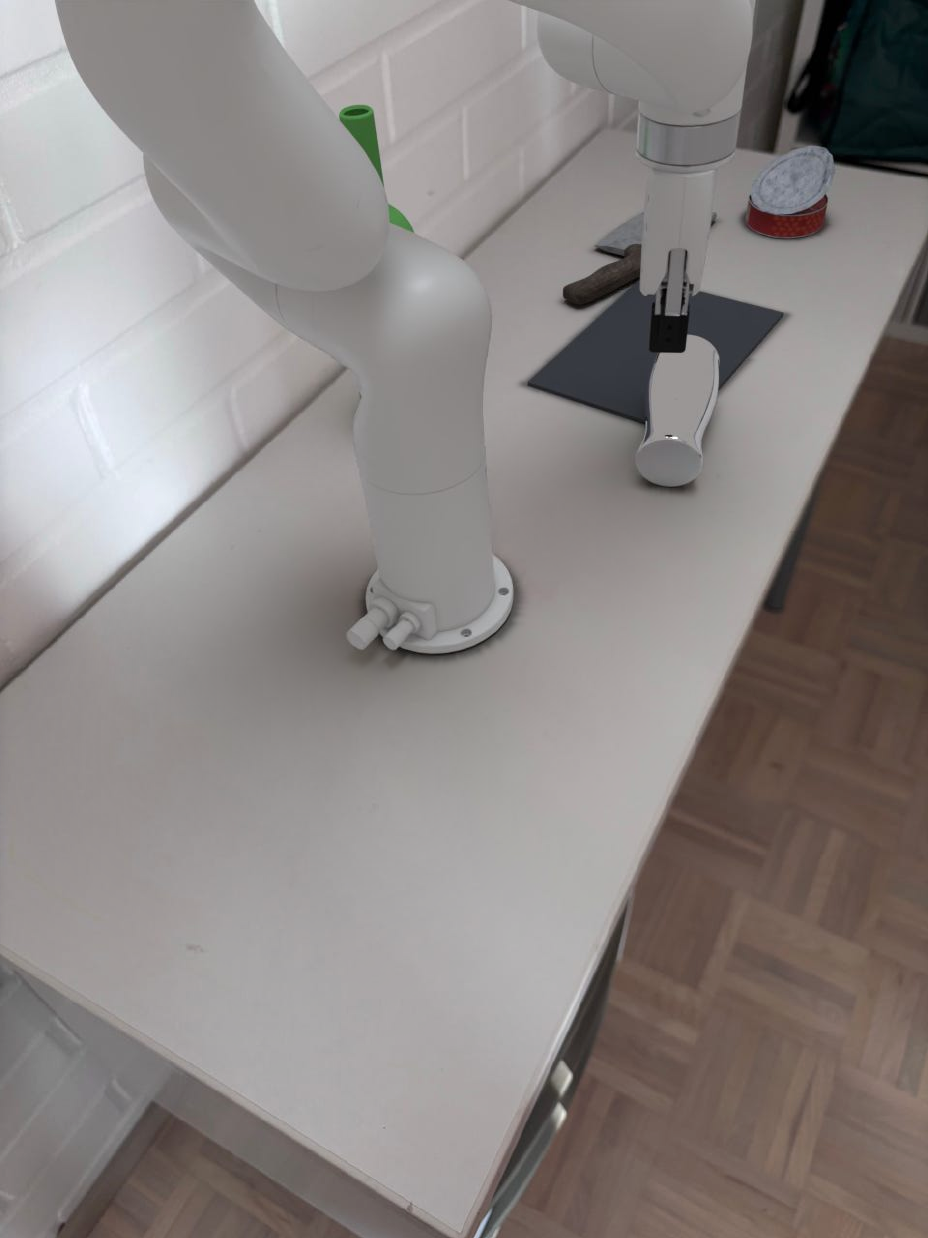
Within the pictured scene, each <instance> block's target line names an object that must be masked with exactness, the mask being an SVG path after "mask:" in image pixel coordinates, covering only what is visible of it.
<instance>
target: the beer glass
mask: <svg viewBox="0 0 928 1238" xmlns="http://www.w3.org/2000/svg"><path fill="white" fill-rule="evenodd" d="M719 364H720V360H719V355H718V352H717V350H716V349H715V347H714V346H713V345H712V344H711V343H710V342H708V341H707V340H705V339H703V338H701V337H698V336H695V335H687V341H686V350H685V351H684V352H683V353H655V355H654V359H653V362H652V365H651V368H650V371H649V374H648V378H647V382H646V388H645V400H644V407H645V423H644V424H645V428H644V429H645V431H644V435H643V438H642V440H641V442H640V444H639V446H638V448H637V451H636V454H635V459H634V460H635V467H636V469H637V471H638V473H639V475H641V476H642V477H643V478H644V479H646V480H647V481H649V482H650V483H652V484H655V485H656V486H657V485H658V486H662V487H668V488H669V487H670V488H671V487H681V486H683V485H686V484H687V485H688V484H689V483H692V481H694V480H695V479H696V478H698V476H699V475H700V474H701V471H702V469H703V465H704V463H703V462H704V458H703V451H702V450H703V449H702V442H703V441H702V440H703V436H704V433H705V431H706V429H707V426H708V424H709V421H710V419H711V417H712V414H713V412H714V410H715V406H716V403H717V397H718V393H719V390H718V385H719Z"/></svg>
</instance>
